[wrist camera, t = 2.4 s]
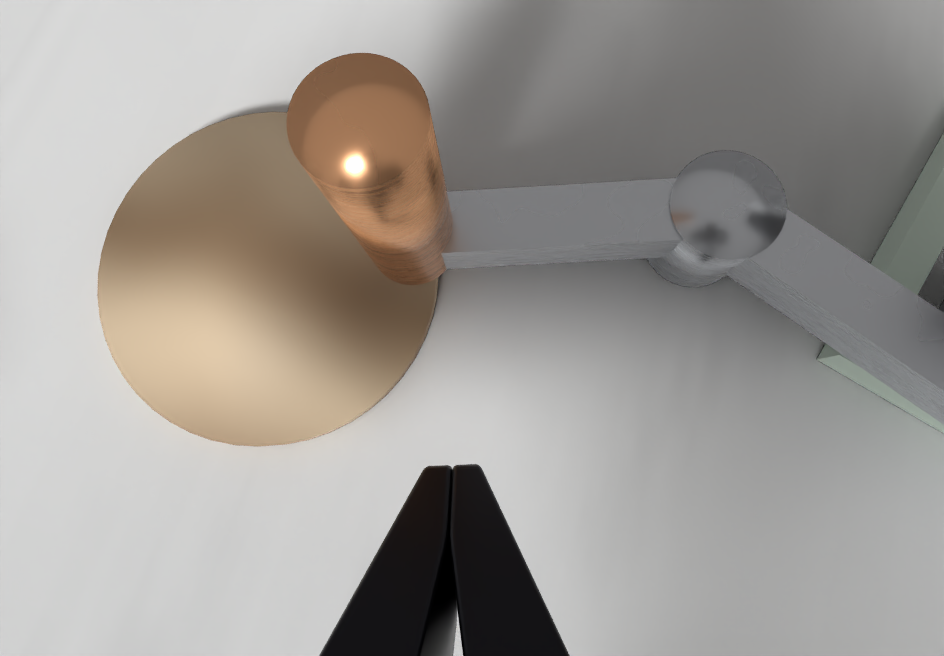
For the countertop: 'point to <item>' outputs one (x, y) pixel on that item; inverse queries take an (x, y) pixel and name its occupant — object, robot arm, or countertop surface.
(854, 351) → the grey rod with hub
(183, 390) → the coaster
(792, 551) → the countertop surface
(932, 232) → the socket frame
